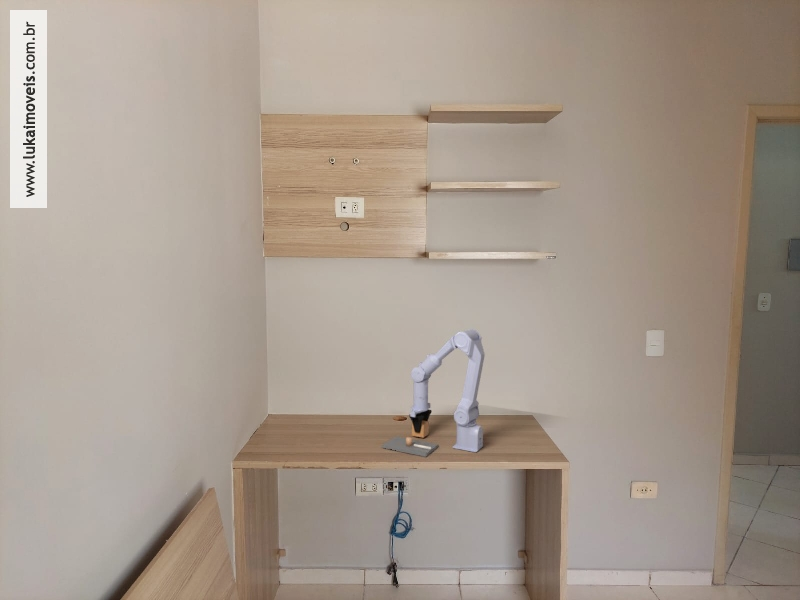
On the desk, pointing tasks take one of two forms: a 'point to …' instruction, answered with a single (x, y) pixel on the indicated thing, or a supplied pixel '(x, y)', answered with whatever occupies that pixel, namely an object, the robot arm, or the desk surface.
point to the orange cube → (422, 430)
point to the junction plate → (410, 446)
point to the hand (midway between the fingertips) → (420, 430)
